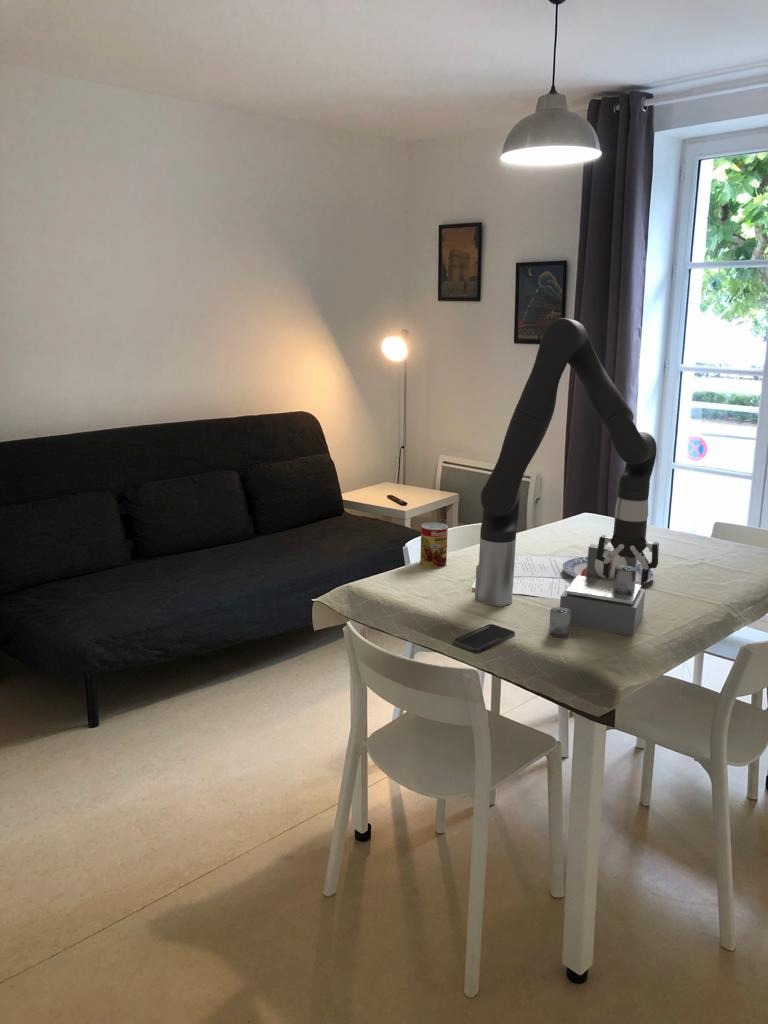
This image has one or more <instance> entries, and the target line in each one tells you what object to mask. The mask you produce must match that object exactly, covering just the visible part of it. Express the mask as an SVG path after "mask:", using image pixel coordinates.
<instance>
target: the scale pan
mask: <svg viewBox="0 0 768 1024" xmlns="http://www.w3.org/2000/svg"><path fill="white" fill-rule="evenodd" d="M574 578H575V577H574ZM574 578H573V579H574ZM572 581H573V580H572ZM572 581H571V582H572ZM571 582H570V583H571ZM569 585H570V584H569ZM569 585H568V586H569ZM568 586H567V587H568ZM613 586H614V581H612V580H605V579H599V578H592V577H586V576H579V575H578V576H577V577H576V578H575V579H574V581H573V582H572V583H571V585H570V586H569V587H568V588H567V587H566V588H567V590H566V589H565V590H566V593H567V594H573V595H579V596H585V597H591V598H597V599H603V600H609V601H616V602H622V603H628V604H633V603H634V601H635V599H636V597H637V595H638V593H639V591H640V589H642V584H639V585H638V584H635V590H634V594H633V595H629V596H625V595H619V594H616V593H614V592H613Z"/></svg>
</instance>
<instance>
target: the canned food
mask: <svg viewBox="0 0 768 1024" xmlns="http://www.w3.org/2000/svg"><path fill="white" fill-rule="evenodd" d="M420 527H421V529H420V530H421V531H420V558H419V559H420V561H419V563H420V565H419V566H421V567H424V568H427V569H442V568H445V567H446V566H447V557H448V556H447V553H448V534H449V533H448V532H449V531H448V529H449V526H448V525H447V524H446V523H443V522H424V523H422V524H421V526H420Z"/></svg>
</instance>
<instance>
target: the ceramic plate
mask: <svg viewBox="0 0 768 1024" xmlns="http://www.w3.org/2000/svg"><path fill="white" fill-rule="evenodd" d="M587 561H588V556H582V557H581V556H580V557H574V558H572V559H568V560H566V561H565V562H564V563H563V565H562V569H563V571H564V572H565V573H566V574H568V575H569V576H571V577H574V578H576V577H577V576H578V575H579V576H586V573H587ZM642 569H643V566H642V565H641V563H640V562H637V571H636V581H635V584H638V585H642V584H641V578H642ZM654 578H655V572H654V571H653V569H652V568H651V569H649V576H648V580H647V582H645V583H644V584H646V583H650V582H651V581H652V580H653V579H654Z"/></svg>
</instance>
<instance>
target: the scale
mask: <svg viewBox="0 0 768 1024" xmlns="http://www.w3.org/2000/svg"><path fill="white" fill-rule="evenodd" d="M597 550H598V544H594V543H591V544H589V546H588V551H587V557H588V561H587V573H586V577H592V578H599V579H605V580H612V581H614V575H615V567H616V566H622V565H623V566H631V567H634V568H636V571H637V563H638V562H639V561H638V560H637V558H636V557H635V558H629V557H620V556H619V555H618V554H617V555H616V556H615V557H614V558H613V559H612V560H611V561H610V562H611V566H610V576H609V578H605V576H604V575H603V566H604V563H603V562H602V561H600V560H597V558H596V557H597ZM613 550H614V548H613V546H608V545H606V546H605V548H604V554H603V555H605V556H608V555H609V554H610V553H611V552H612V551H613ZM574 579H575V577H574V578H573V579H572V581H571V582H570V583H569V584H568V586H567V587H566V588H565V589H564V591H562V594H561V595H560V598H559V599H560V602H559V607H562V608H567V609H569V610H571V611H572V617H571V626H576V627H581V628H582V627H583V628H588V629H594V630H600V631H605V632H611V633H616V634H622V635H625V636H626V635H628V636H634V635H635V633H636V630H637V629H638V626H639V624H640V622H641V620H642V618H643V616H644V605H645V599H646V597H645V596H646V588H641V589H640V591H639V593H638V595H637V597H636V599H635V601H634V603H633V604H628V603H622V602H616V601H609V600H603V599H597V598H591V597H585V596H579V595H573V594H567V593H566V590H567V588H568V587H569V586H570V585H571V583H572V582H573V581H574ZM635 581H636V580H635Z"/></svg>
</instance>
